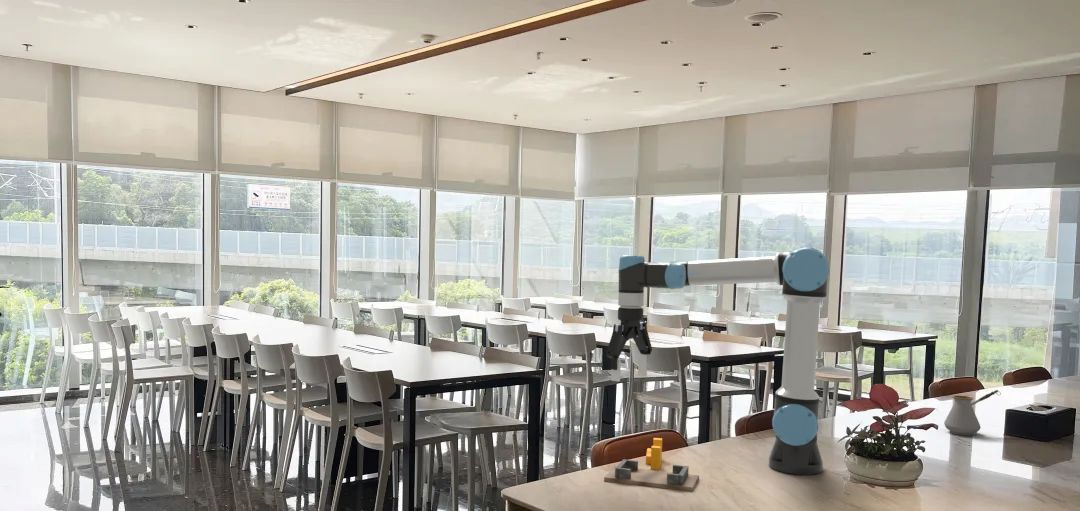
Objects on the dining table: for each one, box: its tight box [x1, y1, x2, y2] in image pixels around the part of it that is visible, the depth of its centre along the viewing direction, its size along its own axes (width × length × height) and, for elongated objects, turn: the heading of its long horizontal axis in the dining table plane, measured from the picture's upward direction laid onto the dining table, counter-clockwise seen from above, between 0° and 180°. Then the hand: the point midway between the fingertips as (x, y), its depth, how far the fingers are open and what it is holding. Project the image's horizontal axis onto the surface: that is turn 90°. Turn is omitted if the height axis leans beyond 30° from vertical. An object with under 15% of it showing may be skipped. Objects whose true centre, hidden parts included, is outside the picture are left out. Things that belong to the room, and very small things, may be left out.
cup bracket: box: [603, 458, 700, 492], centre depth 218 cm, size 24×12×4 cm, turn 71°
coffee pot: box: [943, 389, 1002, 436], centre depth 283 cm, size 21×12×15 cm, turn 104°
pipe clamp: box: [645, 437, 663, 471], centre depth 234 cm, size 12×4×6 cm, turn 168°
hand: (629, 378), depth 236 cm, fingers open, 13 cm apart
